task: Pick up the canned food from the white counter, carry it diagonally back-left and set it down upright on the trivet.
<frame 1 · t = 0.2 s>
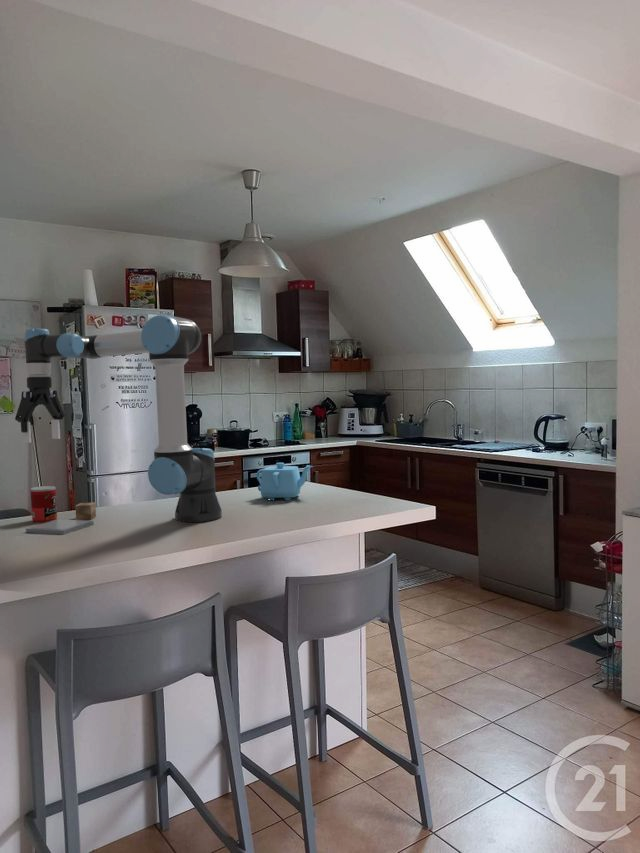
hand: (42, 440, 221), 27 cm above the countertop, fingers open, 13 cm apart
walnut block: (86, 518, 224), on the countertop
trivet: (60, 528, 209), on the countertop
canned food: (44, 520, 223), on the countertop
teapot: (285, 498, 252), on the countertop
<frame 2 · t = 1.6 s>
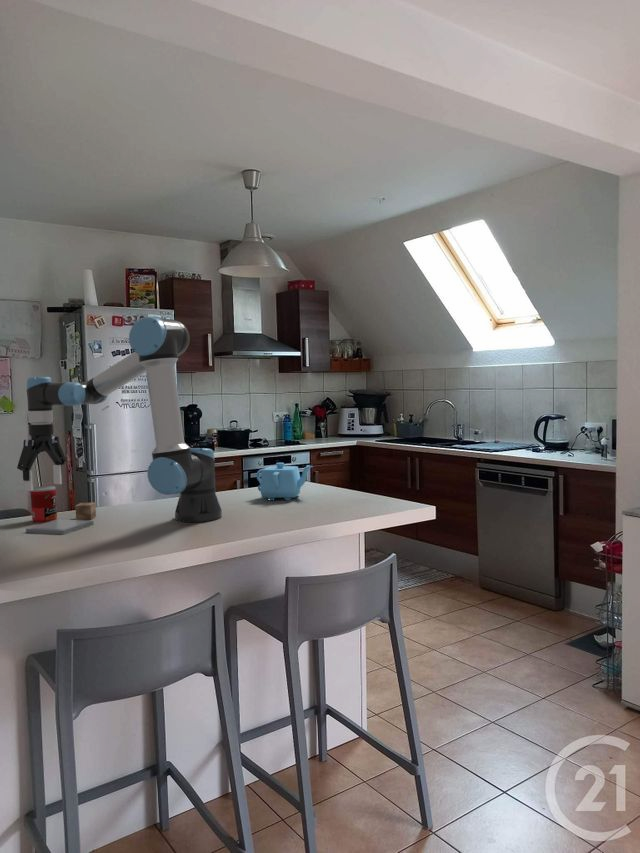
hand: (43, 487, 222), 11 cm above the countertop, fingers open, 13 cm apart
nothing on the countertop moved.
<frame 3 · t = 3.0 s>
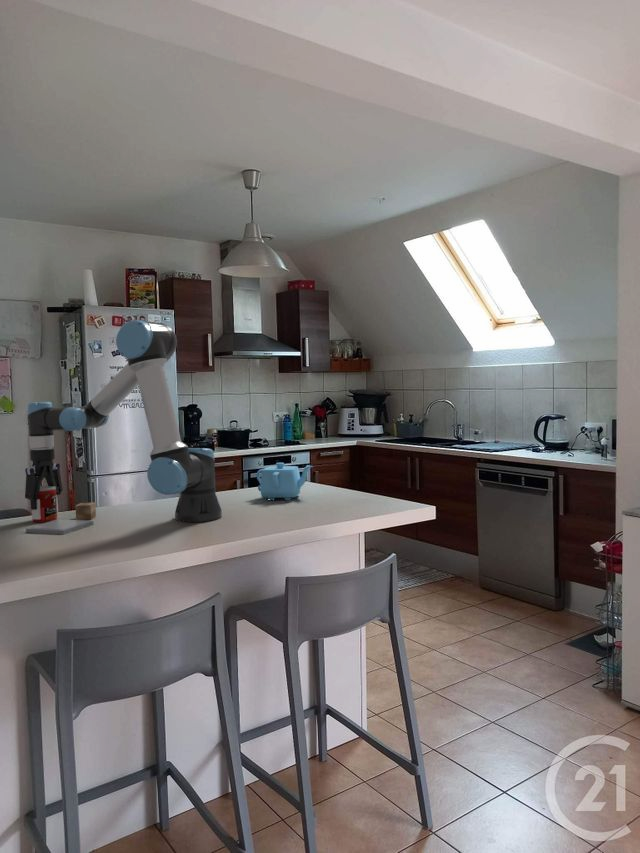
hand: (45, 516, 222), 1 cm above the countertop, fingers closed on canned food, 8 cm apart
canned food: (45, 520, 223), on the countertop, touching gripper
everything else where it was.
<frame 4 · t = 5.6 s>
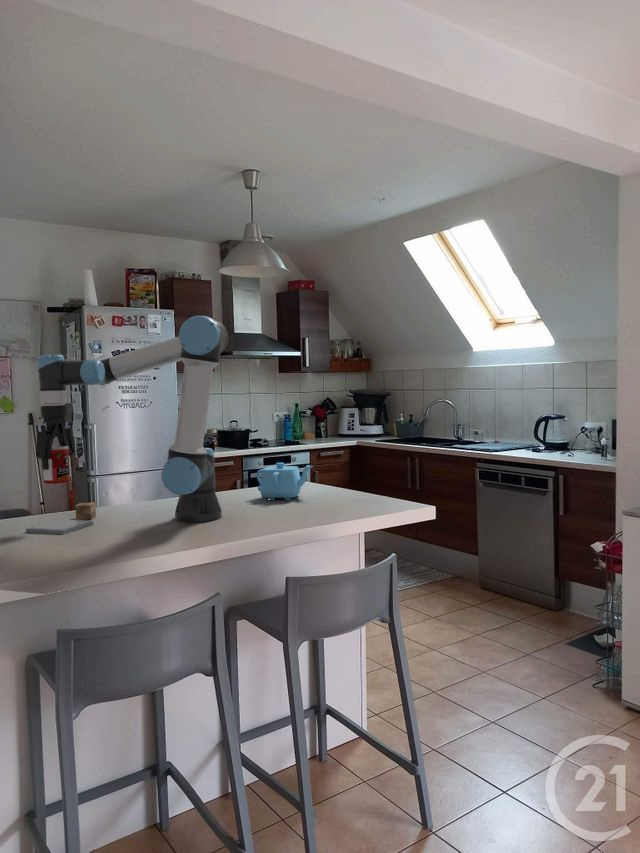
hand: (57, 478, 208), 16 cm above the countertop, fingers closed on canned food, 8 cm apart
canned food: (57, 482, 208), point 14 cm above the countertop, touching gripper
everything else where it was.
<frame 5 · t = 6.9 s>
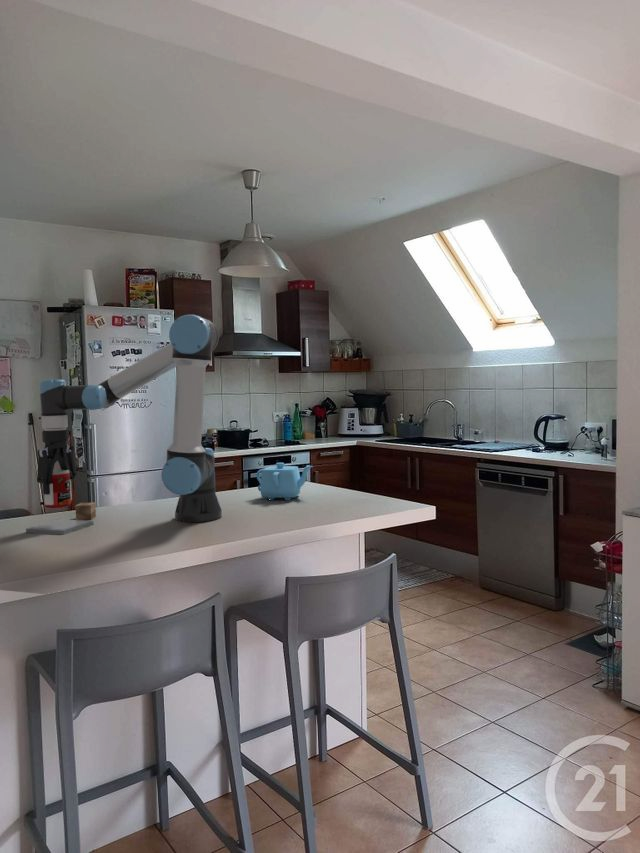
hand: (58, 502, 208), 8 cm above the countertop, fingers closed on canned food, 8 cm apart
canned food: (57, 506, 208), point 7 cm above the countertop, touching gripper
everything else where it was.
when the fingers open (4 cm above the countertop, at t = 8.2 s): canned food drops 1 cm, resting on trivet.
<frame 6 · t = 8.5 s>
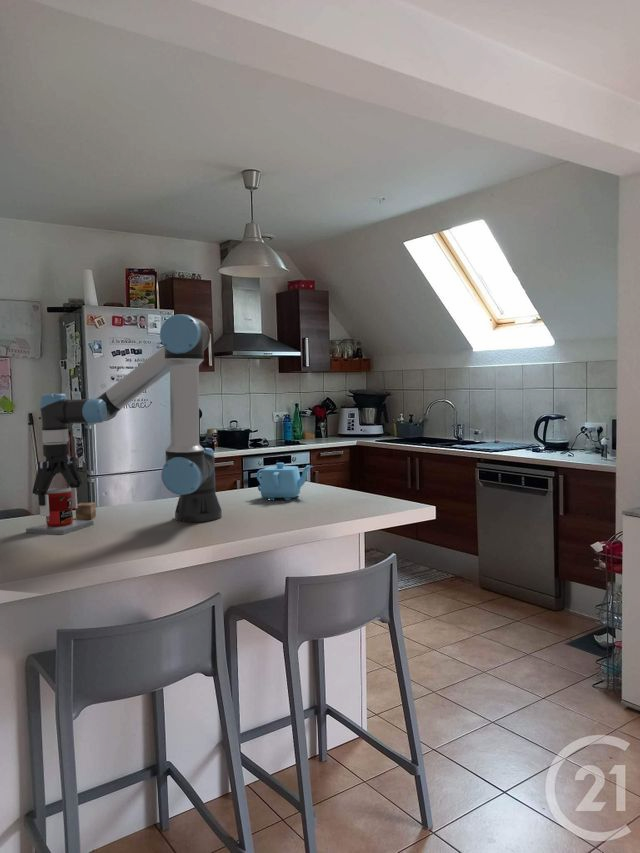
hand: (59, 511, 208), 5 cm above the countertop, fingers open, 12 cm apart
canned food: (59, 524, 209), point 1 cm above the countertop, touching trivet
everything else where it was.
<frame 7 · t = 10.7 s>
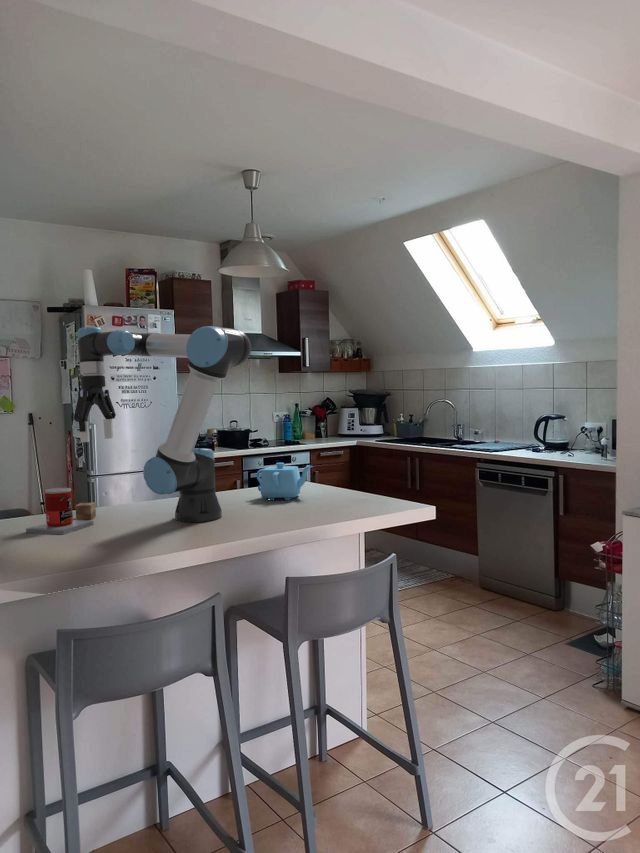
hand: (97, 440, 218), 26 cm above the countertop, fingers open, 13 cm apart
nothing on the countertop moved.
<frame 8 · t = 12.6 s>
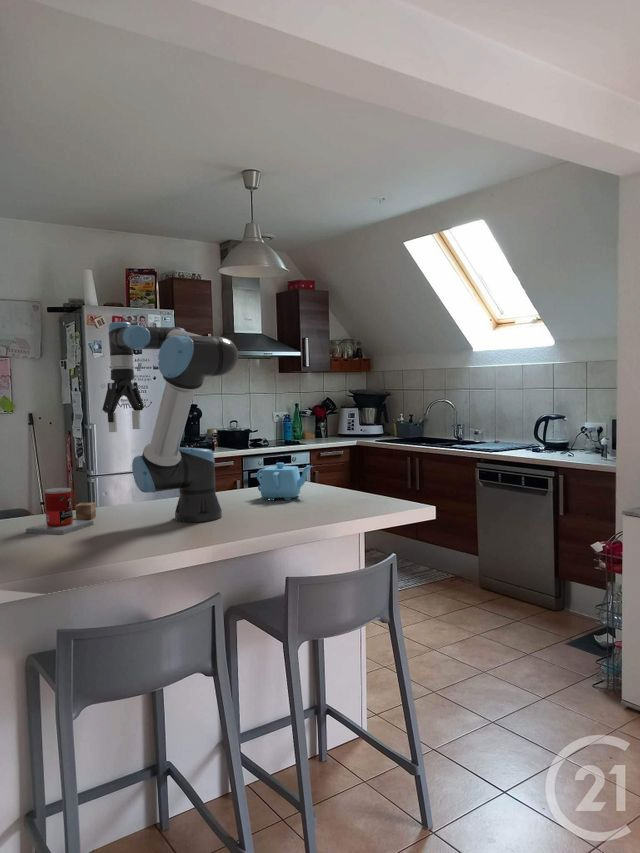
hand: (125, 430, 228), 29 cm above the countertop, fingers open, 13 cm apart
nothing on the countertop moved.
at the end: canned food inside the target area on the trivet (0.3 cm from its centre), point 1.1 cm above the trivet's base; canned food tilted 0°; the gripper is holding nothing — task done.
